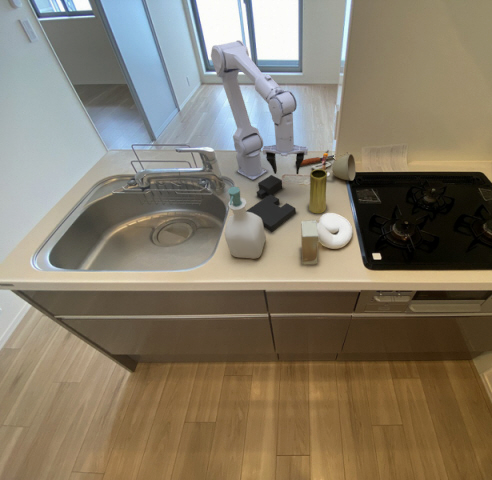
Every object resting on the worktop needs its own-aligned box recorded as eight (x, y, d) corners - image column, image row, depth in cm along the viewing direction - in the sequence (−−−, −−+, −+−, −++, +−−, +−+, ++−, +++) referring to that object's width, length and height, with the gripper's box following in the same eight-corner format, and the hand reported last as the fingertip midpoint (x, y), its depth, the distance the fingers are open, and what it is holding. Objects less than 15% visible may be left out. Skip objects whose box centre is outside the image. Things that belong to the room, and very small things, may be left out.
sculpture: (354, 221, 94) (357, 203, 88) (348, 255, 84) (351, 236, 78) (319, 216, 96) (320, 197, 90) (309, 247, 86) (309, 229, 80)
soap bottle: (229, 259, 84) (208, 201, 66) (238, 235, 90) (220, 176, 72) (261, 261, 83) (247, 204, 65) (267, 237, 89) (257, 178, 71)
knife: (353, 156, 122) (347, 154, 126) (352, 150, 121) (347, 148, 125) (298, 168, 115) (294, 166, 119) (297, 161, 114) (293, 159, 118)
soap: (326, 161, 121) (326, 159, 120) (333, 165, 118) (333, 163, 117) (309, 167, 116) (309, 165, 115) (316, 170, 113) (316, 168, 112)
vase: (328, 204, 100) (330, 170, 90) (323, 215, 96) (325, 180, 86) (311, 201, 102) (312, 166, 91) (306, 211, 98) (306, 176, 88)
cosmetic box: (301, 249, 86) (300, 219, 77) (315, 248, 86) (316, 219, 77) (302, 265, 81) (301, 236, 73) (317, 265, 82) (318, 235, 73)
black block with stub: (254, 195, 105) (253, 186, 102) (272, 183, 110) (271, 174, 107) (264, 200, 102) (263, 192, 99) (282, 188, 107) (282, 180, 104)
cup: (334, 150, 110) (352, 148, 107) (340, 171, 117) (357, 170, 114) (327, 165, 105) (346, 163, 101) (334, 186, 111) (351, 185, 108)
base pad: (246, 216, 96) (245, 211, 94) (271, 199, 103) (270, 194, 101) (271, 232, 91) (270, 226, 89) (295, 213, 97) (295, 207, 95)
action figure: (323, 164, 118) (323, 143, 111) (329, 164, 118) (330, 144, 111) (318, 181, 111) (318, 160, 103) (326, 181, 110) (326, 161, 103)
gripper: (259, 140, 85) (264, 178, 95) (307, 141, 85) (306, 179, 94) (262, 130, 90) (266, 167, 100) (307, 130, 89) (307, 168, 99)
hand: (286, 172), depth 97 cm, fingers open, 7 cm apart
